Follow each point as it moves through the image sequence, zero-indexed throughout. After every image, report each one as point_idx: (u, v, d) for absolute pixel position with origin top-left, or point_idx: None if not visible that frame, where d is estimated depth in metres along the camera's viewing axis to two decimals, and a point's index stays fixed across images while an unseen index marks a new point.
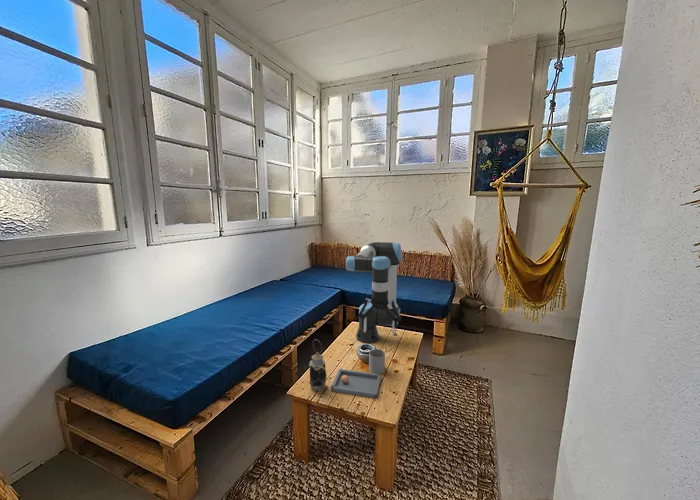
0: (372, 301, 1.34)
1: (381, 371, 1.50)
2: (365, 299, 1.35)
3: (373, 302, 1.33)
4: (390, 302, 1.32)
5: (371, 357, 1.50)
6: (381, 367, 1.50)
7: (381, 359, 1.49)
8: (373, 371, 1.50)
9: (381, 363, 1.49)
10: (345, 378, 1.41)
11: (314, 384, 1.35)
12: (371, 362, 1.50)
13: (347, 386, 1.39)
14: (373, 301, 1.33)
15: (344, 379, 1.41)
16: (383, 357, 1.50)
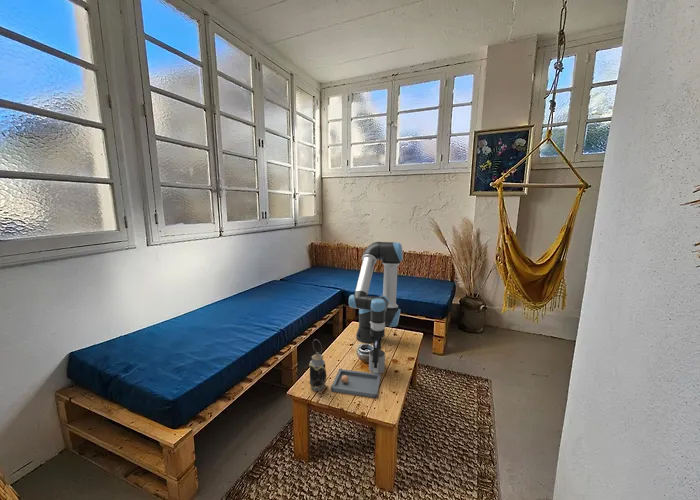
0: None
1: (381, 371, 1.50)
2: None
3: None
4: (375, 343, 1.46)
5: (371, 357, 1.50)
6: (381, 367, 1.50)
7: (381, 359, 1.49)
8: None
9: (381, 363, 1.49)
10: (345, 378, 1.41)
11: (314, 384, 1.35)
12: (371, 362, 1.50)
13: (347, 386, 1.39)
14: None
15: (344, 379, 1.41)
16: (383, 357, 1.50)
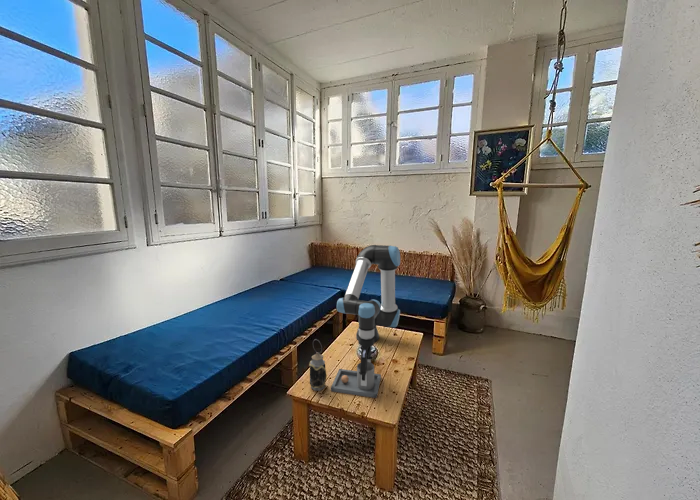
0: None
1: (370, 386, 1.36)
2: None
3: None
4: None
5: (359, 371, 1.36)
6: (370, 382, 1.36)
7: (370, 373, 1.36)
8: (361, 386, 1.36)
9: (370, 378, 1.36)
10: (345, 378, 1.41)
11: (314, 384, 1.35)
12: (359, 376, 1.37)
13: (347, 386, 1.39)
14: None
15: (344, 379, 1.41)
16: (372, 371, 1.36)
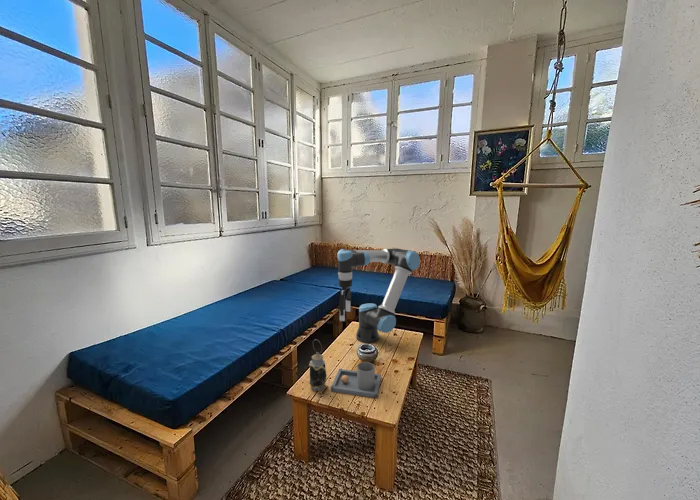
0: None
1: (370, 387, 1.36)
2: None
3: None
4: None
5: (359, 371, 1.36)
6: (370, 382, 1.36)
7: (370, 373, 1.35)
8: (361, 387, 1.36)
9: (370, 378, 1.36)
10: (345, 378, 1.41)
11: (314, 384, 1.35)
12: (359, 377, 1.37)
13: (347, 386, 1.39)
14: None
15: (344, 379, 1.41)
16: (372, 371, 1.36)
